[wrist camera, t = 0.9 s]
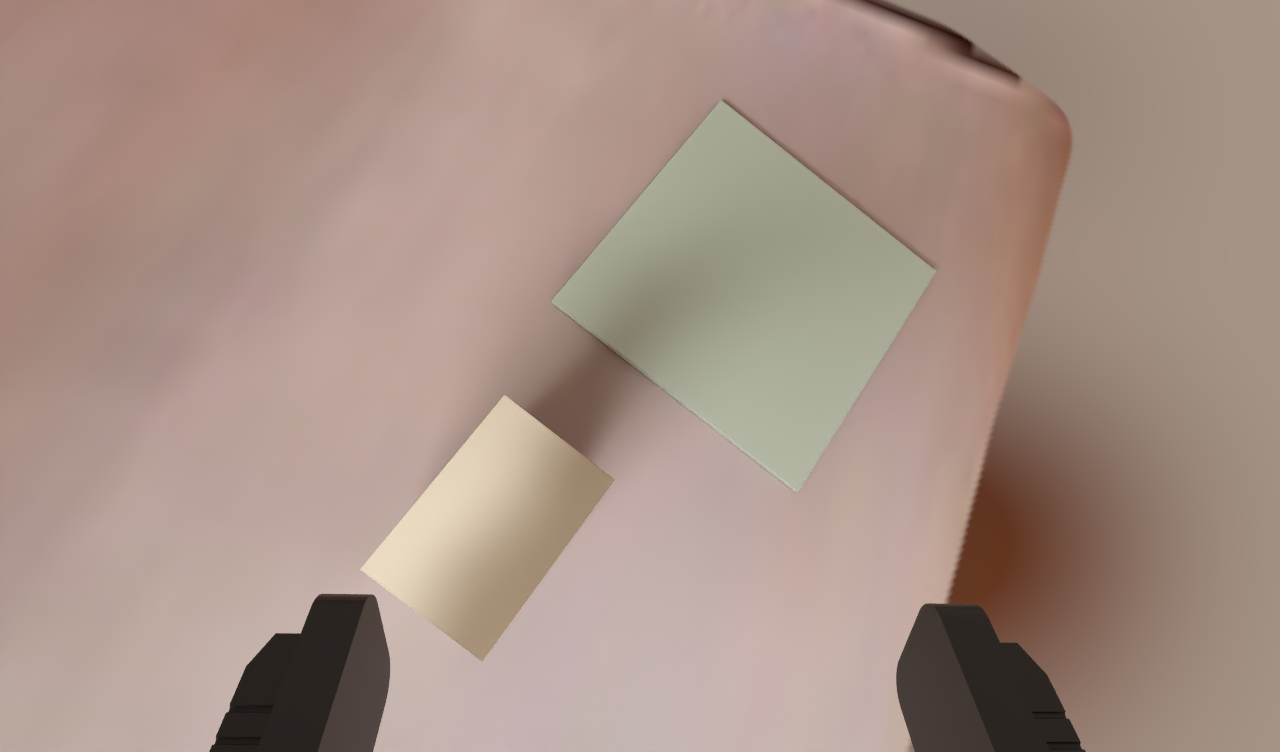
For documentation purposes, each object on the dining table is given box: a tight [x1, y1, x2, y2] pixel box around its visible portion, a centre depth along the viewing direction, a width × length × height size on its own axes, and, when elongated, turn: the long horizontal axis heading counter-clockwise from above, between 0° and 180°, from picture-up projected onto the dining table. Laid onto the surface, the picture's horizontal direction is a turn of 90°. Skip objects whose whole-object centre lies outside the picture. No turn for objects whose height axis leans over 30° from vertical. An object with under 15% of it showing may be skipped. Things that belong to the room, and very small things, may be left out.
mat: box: [551, 100, 936, 492], centre depth 37 cm, size 14×14×1 cm
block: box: [360, 395, 614, 661], centre depth 27 cm, size 4×6×11 cm, turn 144°
